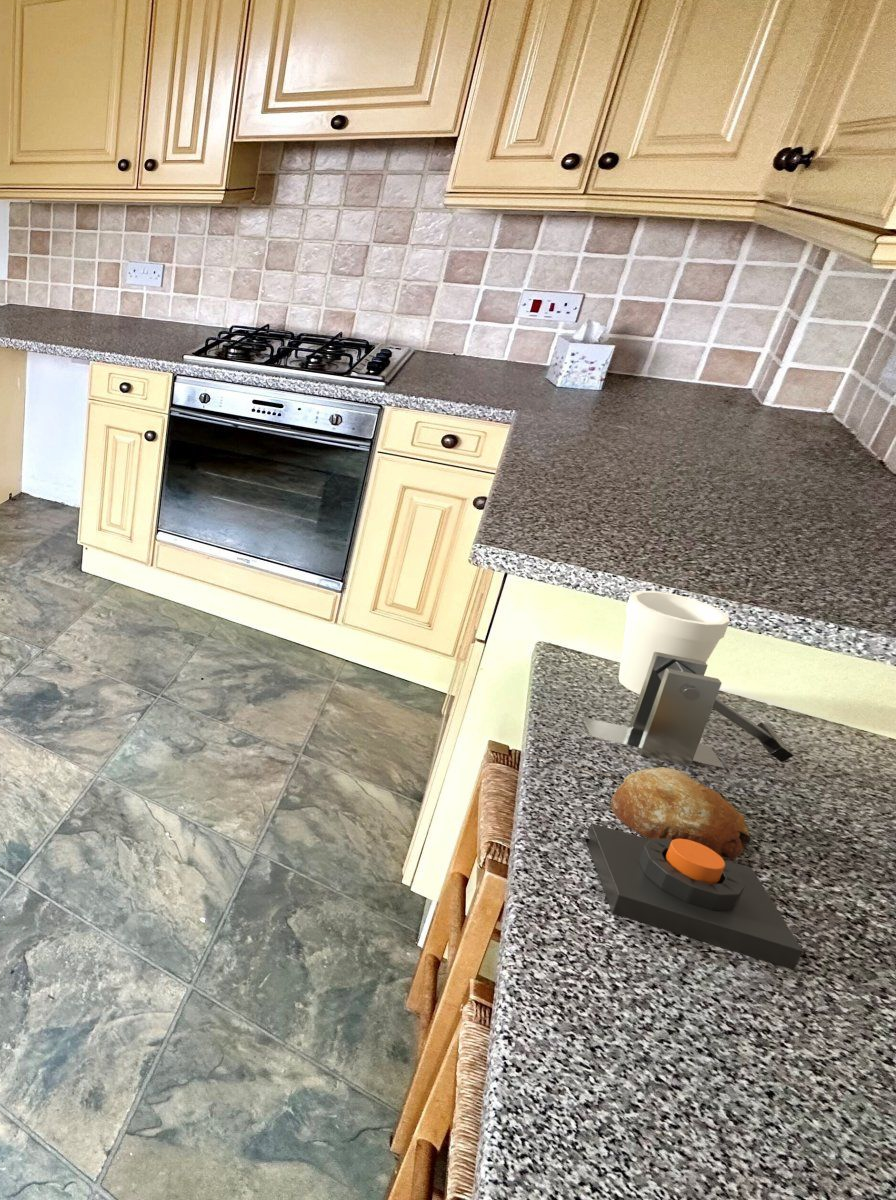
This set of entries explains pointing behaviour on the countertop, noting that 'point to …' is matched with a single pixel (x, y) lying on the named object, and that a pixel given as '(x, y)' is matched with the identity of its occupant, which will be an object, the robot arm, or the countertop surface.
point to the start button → (695, 860)
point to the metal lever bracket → (668, 714)
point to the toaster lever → (746, 724)
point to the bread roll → (679, 811)
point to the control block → (690, 898)
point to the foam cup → (666, 632)
